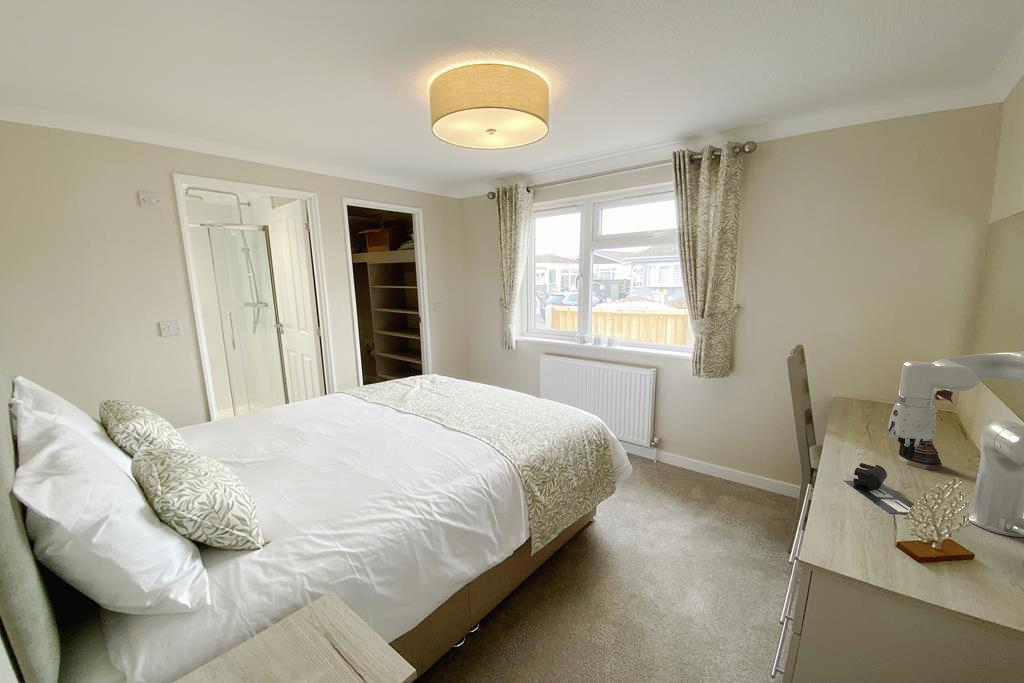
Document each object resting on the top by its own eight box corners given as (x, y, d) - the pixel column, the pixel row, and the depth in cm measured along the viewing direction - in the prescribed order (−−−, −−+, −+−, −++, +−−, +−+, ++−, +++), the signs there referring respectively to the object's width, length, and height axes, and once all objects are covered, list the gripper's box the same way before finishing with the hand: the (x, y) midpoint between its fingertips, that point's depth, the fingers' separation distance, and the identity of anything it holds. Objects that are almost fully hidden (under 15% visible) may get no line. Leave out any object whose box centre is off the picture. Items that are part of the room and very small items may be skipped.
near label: (916, 513, 122) (916, 512, 122) (899, 512, 123) (899, 511, 123) (897, 500, 129) (897, 499, 129) (880, 499, 130) (880, 499, 130)
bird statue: (899, 449, 166) (911, 369, 160) (944, 460, 156) (959, 375, 150) (890, 460, 156) (903, 376, 150) (938, 473, 146) (954, 382, 140)
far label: (893, 497, 130) (893, 497, 130) (877, 497, 131) (877, 496, 131) (869, 482, 140) (870, 481, 140) (854, 481, 141) (854, 481, 141)
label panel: (932, 515, 121) (932, 515, 121) (889, 513, 122) (889, 513, 122) (879, 482, 140) (879, 481, 140) (843, 480, 142) (843, 480, 142)
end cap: (879, 495, 132) (881, 476, 131) (852, 486, 137) (854, 468, 136) (885, 485, 138) (888, 467, 137) (859, 477, 143) (861, 460, 142)
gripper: (898, 404, 117) (889, 461, 120) (953, 405, 116) (943, 463, 119) (878, 397, 125) (870, 450, 128) (930, 397, 123) (921, 452, 126)
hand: (905, 456), depth 123 cm, fingers closed
